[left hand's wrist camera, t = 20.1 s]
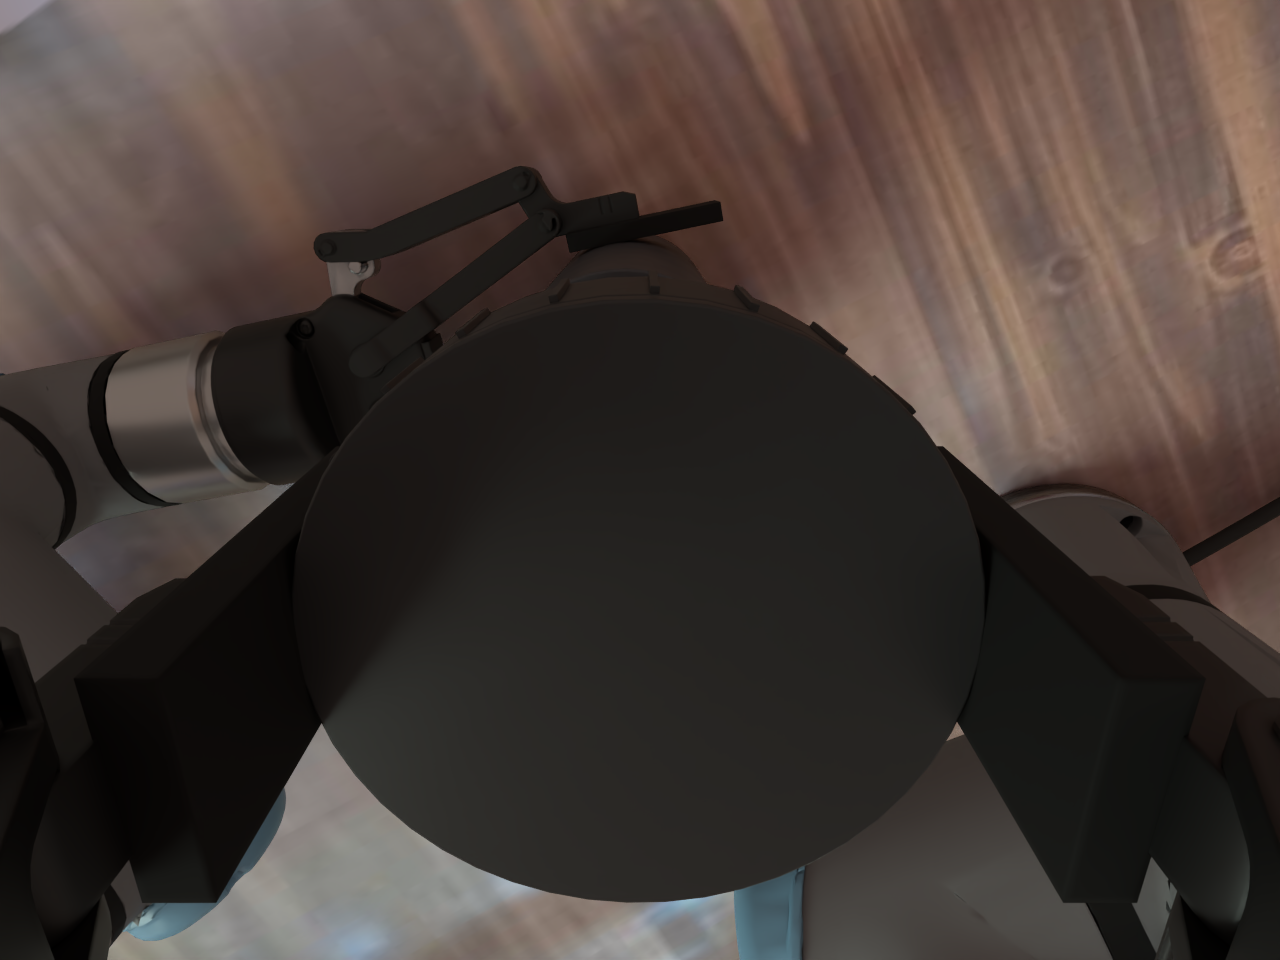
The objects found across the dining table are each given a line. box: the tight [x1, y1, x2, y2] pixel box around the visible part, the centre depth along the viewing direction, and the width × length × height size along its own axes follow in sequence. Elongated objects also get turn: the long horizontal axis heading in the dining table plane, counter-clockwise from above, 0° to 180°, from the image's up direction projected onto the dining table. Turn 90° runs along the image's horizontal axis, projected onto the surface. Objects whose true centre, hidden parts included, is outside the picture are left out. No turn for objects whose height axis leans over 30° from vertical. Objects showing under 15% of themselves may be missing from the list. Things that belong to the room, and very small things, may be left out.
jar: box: [545, 235, 706, 291], centre depth 32 cm, size 8×8×20 cm
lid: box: [291, 270, 985, 902], centre depth 11 cm, size 9×9×2 cm
